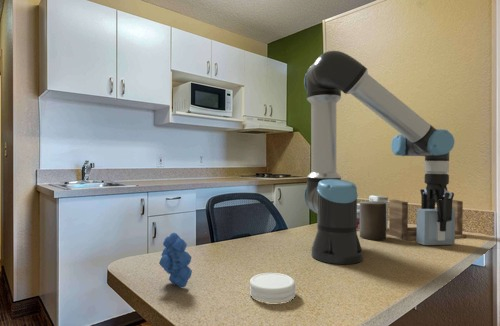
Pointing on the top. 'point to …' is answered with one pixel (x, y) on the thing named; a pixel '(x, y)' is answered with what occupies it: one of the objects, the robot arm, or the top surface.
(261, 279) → the white round jar
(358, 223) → the pill bottle
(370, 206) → the pillar candle
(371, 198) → the syrup box
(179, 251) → the grapes
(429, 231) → the door panel
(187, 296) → the top surface
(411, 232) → the frame
